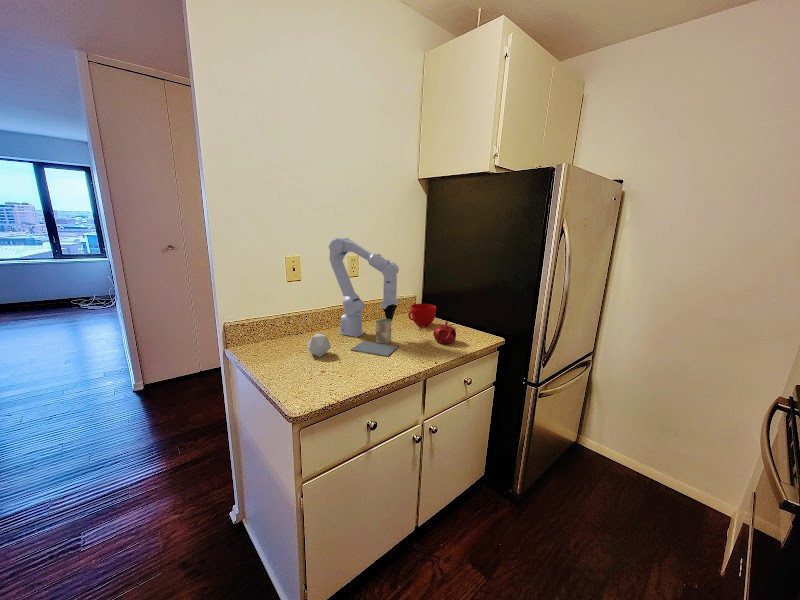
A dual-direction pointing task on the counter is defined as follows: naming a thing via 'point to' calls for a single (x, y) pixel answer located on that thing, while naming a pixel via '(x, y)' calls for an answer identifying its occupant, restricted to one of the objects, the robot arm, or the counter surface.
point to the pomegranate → (444, 334)
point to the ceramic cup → (422, 314)
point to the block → (383, 331)
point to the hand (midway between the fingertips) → (389, 321)
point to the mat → (374, 348)
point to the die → (318, 344)
